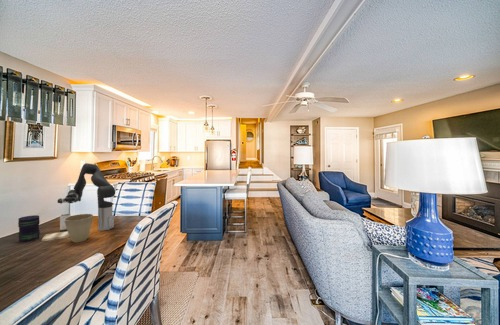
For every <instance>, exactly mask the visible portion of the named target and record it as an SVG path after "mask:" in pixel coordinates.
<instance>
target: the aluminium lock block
mask: <svg viewBox="0 0 500 325" xmlns="http://www.w3.org/2000/svg"><path fill="white" fill-rule="evenodd" d="M70 216H71V213H64V214H61V215H60V216H59V232H67V228H66V224H65V220H64V219H65V218H67V217H70Z"/></svg>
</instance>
